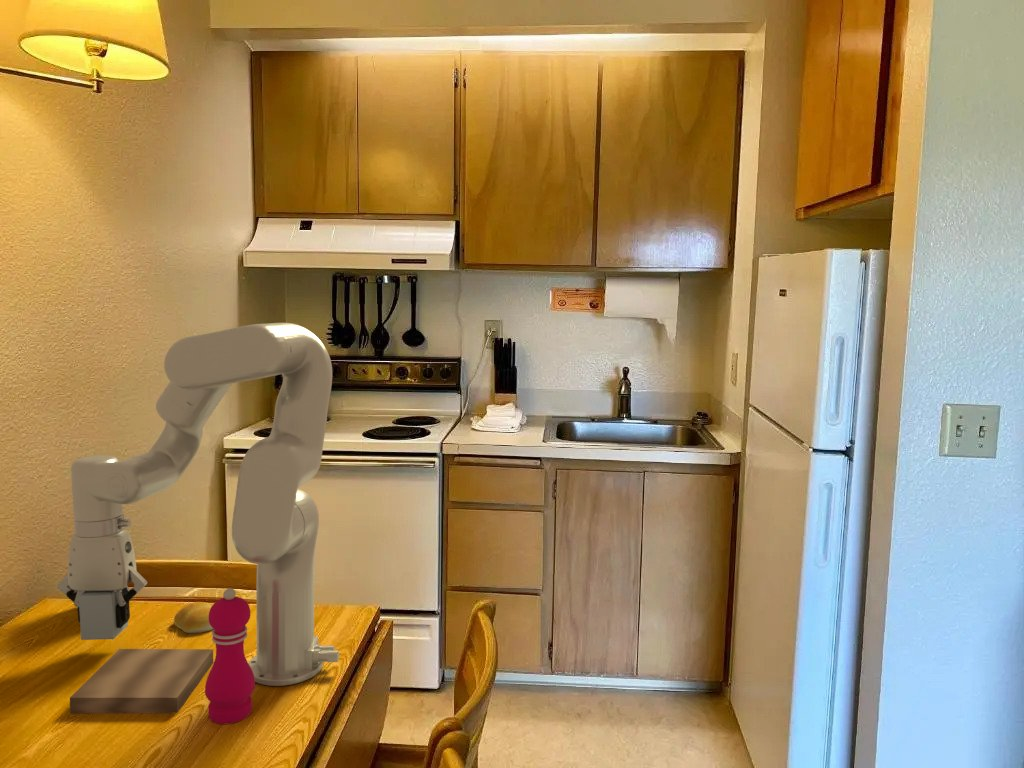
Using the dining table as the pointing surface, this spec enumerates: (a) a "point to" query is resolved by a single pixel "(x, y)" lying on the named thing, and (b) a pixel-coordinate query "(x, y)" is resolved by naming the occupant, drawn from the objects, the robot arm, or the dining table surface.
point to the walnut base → (143, 681)
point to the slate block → (98, 615)
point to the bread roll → (194, 618)
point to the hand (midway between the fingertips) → (104, 624)
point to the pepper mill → (229, 661)
